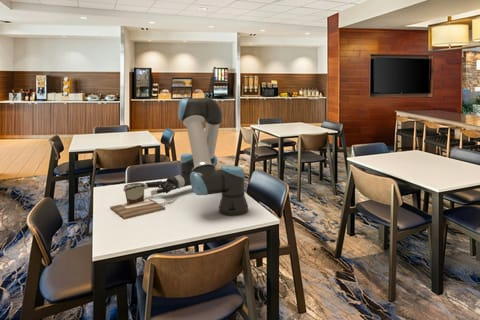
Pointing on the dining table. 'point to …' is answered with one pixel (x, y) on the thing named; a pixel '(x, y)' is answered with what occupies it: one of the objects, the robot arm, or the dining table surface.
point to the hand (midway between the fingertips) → (144, 190)
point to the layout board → (137, 208)
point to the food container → (134, 193)
